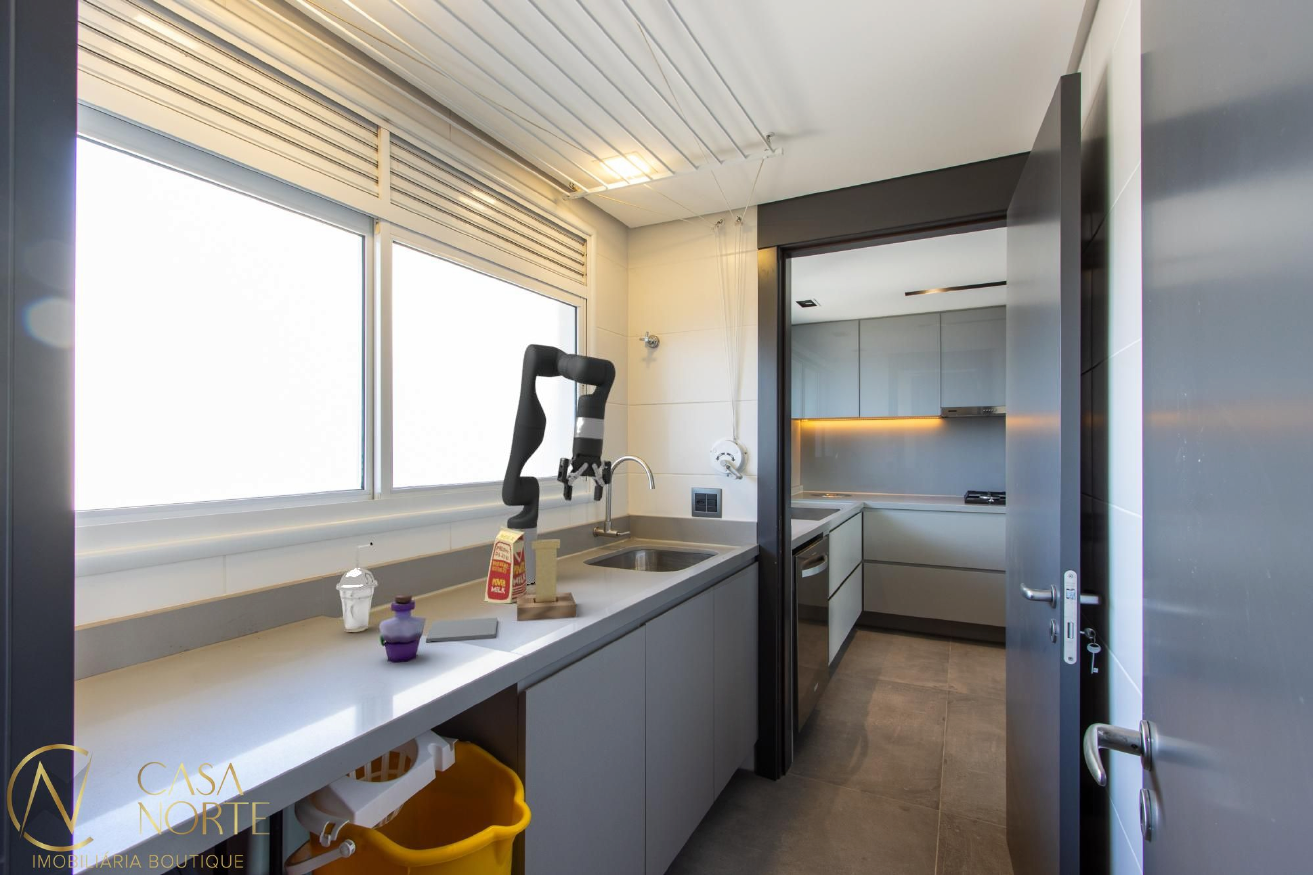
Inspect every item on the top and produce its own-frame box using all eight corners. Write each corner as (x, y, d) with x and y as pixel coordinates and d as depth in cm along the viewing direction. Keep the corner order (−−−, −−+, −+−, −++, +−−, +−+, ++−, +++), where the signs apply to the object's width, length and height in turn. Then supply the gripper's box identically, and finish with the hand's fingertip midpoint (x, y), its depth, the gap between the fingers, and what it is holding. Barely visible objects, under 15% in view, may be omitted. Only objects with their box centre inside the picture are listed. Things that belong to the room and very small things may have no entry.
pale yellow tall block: (531, 615, 147) (532, 541, 148) (531, 610, 152) (531, 539, 153) (560, 613, 149) (560, 540, 149) (558, 608, 154) (559, 538, 154)
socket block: (517, 620, 142) (517, 607, 142) (517, 606, 156) (517, 595, 156) (576, 617, 145) (576, 604, 145) (570, 603, 159) (571, 592, 159)
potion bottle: (373, 656, 116) (374, 594, 116) (419, 648, 121) (420, 588, 122) (383, 668, 109) (385, 602, 110) (432, 659, 114) (433, 596, 115)
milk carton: (484, 601, 162) (485, 527, 162) (502, 594, 170) (503, 524, 171) (514, 603, 159) (514, 528, 160) (531, 596, 168) (531, 525, 169)
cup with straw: (374, 623, 140) (375, 537, 141) (380, 632, 133) (381, 541, 133) (333, 628, 136) (335, 540, 136) (336, 638, 128) (338, 544, 129)
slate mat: (426, 642, 125) (426, 638, 125) (434, 624, 138) (434, 621, 139) (495, 637, 128) (495, 634, 128) (497, 620, 142) (497, 617, 142)
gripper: (604, 438, 158) (598, 499, 158) (556, 433, 149) (550, 498, 149) (620, 439, 152) (614, 502, 152) (571, 434, 143) (565, 502, 143)
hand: (582, 500), depth 150 cm, fingers open, 8 cm apart
